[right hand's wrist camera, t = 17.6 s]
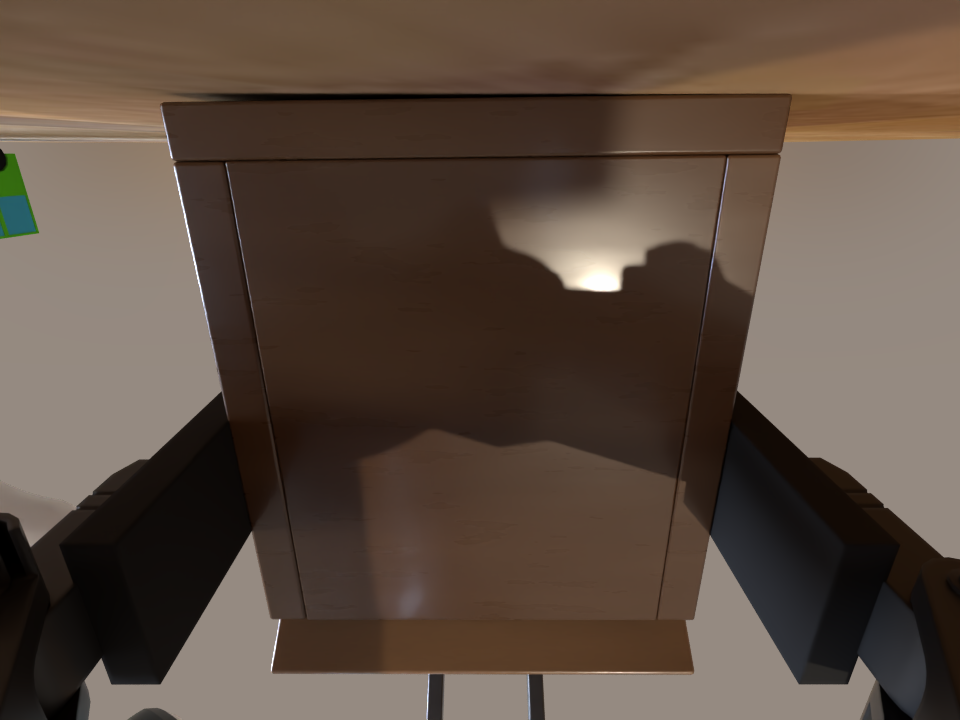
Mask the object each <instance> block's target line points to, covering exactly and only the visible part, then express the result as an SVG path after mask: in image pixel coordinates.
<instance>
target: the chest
mask: <svg viewBox="0 0 960 720" xmlns="http://www.w3.org/2000/svg"><path fill="white" fill-rule="evenodd" d="M791 99H792V96H791V95H790V94H710V95H639V96H567V97H495V98H424V99H352V100H281V101H209V102H163V103H161V104H160V108H161V113H162V117H163V122H164V127H165V131H166V136H167V141H168V145H169V150H170V155H171V158H172V160H174V161H178V162H176V163H174V172H175V176H176V181H177V185H178V190H179V195H180V199H181V204H182V209H183V213H184V218H185V223H186V227H187V232H188V237H189V241H190V246H191V251H192V255H193V260H194V265H195V269H196V274H197V279H198V283H199V288H200V292H201V297H202V302H203V306H204V311H205V316H206V320H207V325H208V330H209V334H210V339H211V344H212V348H213V353H214V357H215V362H216V367H217V372H218V376H219V381H220V385H221V390H222V395H223V400H224V404H225V409H226V414H227V418H228V421H229V424H230V429H231V434H232V439H233V444H234V449H235V454H236V459H237V464H238V468H239V473H240V478H241V483H242V488H243V493H244V497H245V502H246V507H247V511H248V516H249V521H250V525H251V530H252V535H253V539H254V544H255V548H256V553H257V558H258V562H259V567H260V572H261V576H262V581H263V586H264V590H265V595H266V600H267V604H268V609H269V614H270V618H271V619H305V618H306V617H307V619H308V620H656V618H657V619H658V620H693V619H694V616H695V611H696V605H697V600H698V595H699V589H700V584H701V579H702V573H703V568H704V563H705V558H706V552H707V547H708V542H709V536H710V531H711V526H712V520H713V515H714V510H715V504H716V499H717V494H718V488H719V483H720V478H721V472H722V467H723V462H724V457H725V451H726V446H727V441H728V435H729V430H730V425H731V419H732V414H733V409H734V403H735V398H736V393H737V387H738V382H739V377H740V372H741V366H742V361H743V356H744V350H745V345H746V339H747V334H748V329H749V324H750V318H751V313H752V308H753V302H754V297H755V292H756V286H757V281H758V276H759V270H760V265H761V260H762V255H763V249H764V244H765V239H766V233H767V228H768V223H769V217H770V212H771V207H772V201H773V196H774V191H775V185H776V180H777V175H778V169H779V164H780V159H781V157H780V155H778V153H780V152H781V151H782V147H783V142H784V137H785V131H786V126H787V121H788V115H789V110H790V105H791Z"/></svg>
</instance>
